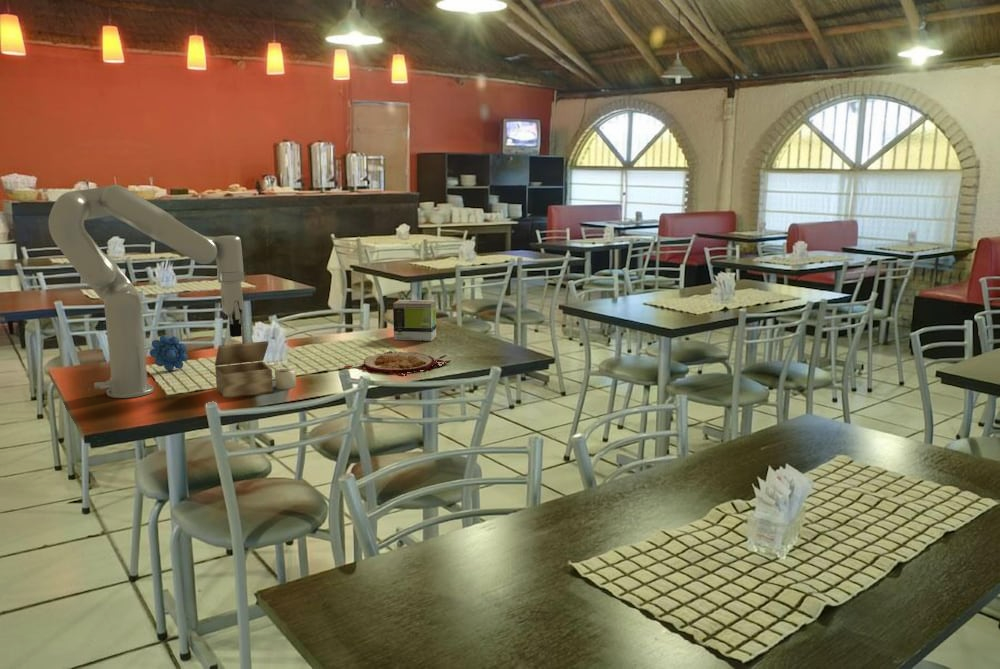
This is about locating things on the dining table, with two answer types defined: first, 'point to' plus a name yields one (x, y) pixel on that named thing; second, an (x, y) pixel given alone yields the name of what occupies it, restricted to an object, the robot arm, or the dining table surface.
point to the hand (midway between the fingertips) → (236, 336)
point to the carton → (243, 379)
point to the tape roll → (285, 378)
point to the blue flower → (169, 352)
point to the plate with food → (398, 362)
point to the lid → (241, 353)
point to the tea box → (414, 320)
